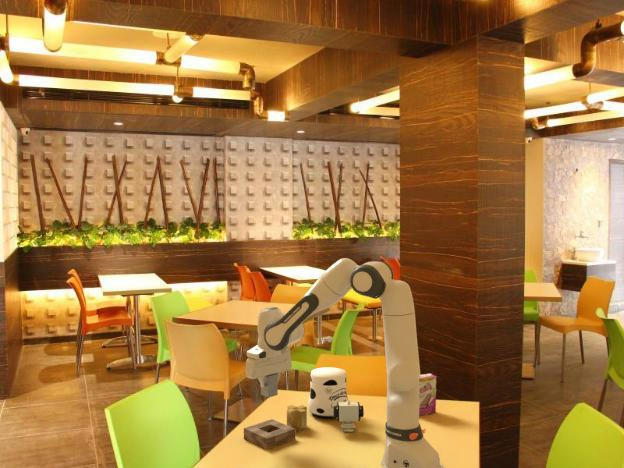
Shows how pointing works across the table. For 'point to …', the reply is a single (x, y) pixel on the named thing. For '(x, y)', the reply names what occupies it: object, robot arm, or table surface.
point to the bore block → (269, 433)
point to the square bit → (270, 385)
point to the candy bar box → (427, 394)
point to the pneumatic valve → (348, 414)
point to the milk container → (327, 390)
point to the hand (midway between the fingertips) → (269, 385)
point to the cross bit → (297, 417)
